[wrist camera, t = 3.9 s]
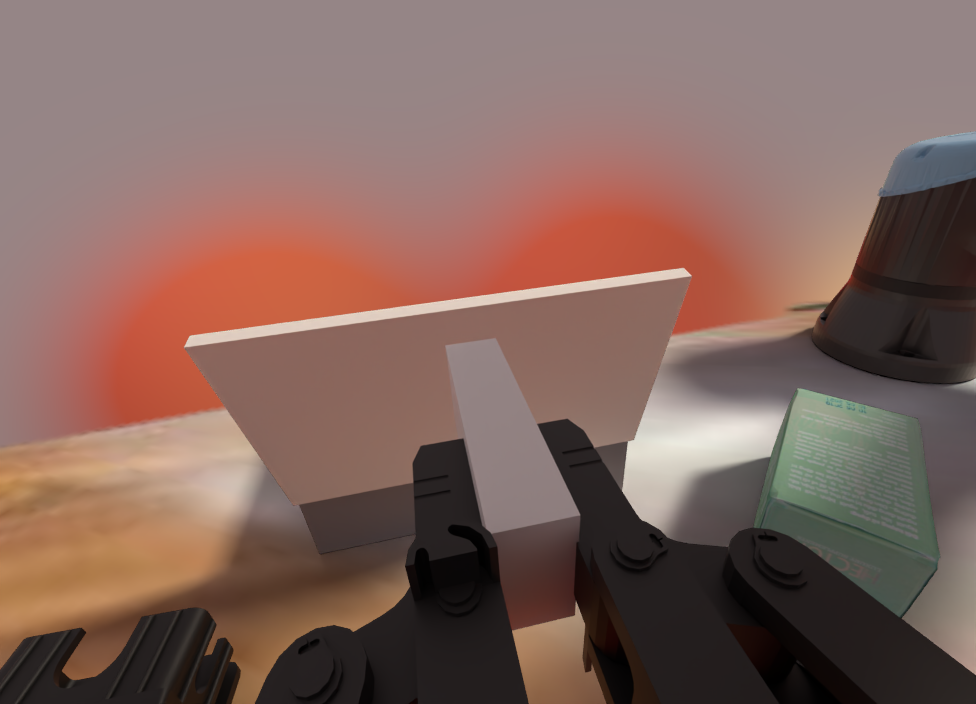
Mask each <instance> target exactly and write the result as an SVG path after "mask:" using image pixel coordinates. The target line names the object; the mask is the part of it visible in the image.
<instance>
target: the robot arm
mask: <svg viewBox="0 0 976 704" xmlns="http://www.w3.org/2000/svg"><path fill="white" fill-rule="evenodd" d="M878 196H880V199H879V201H878V204H877V207H876V209H875V212H874V215H873V217H872V220H871V223H870V225H869V228H868V231H867V233H866V236H865V239H864V241H863V244H862V247H861V249H860V252H859V255H858V257H857V260H856V263H855V266H854V269H853V272H852V274H851V277H850V279H849V280H848V282H847V283H846V284H845V285H844V287H843V288H842V289H841V290H840V292H839V293H838V294H837V295H836V296H835V297H834V299H833V300H832V301H831V302H830V304H829V305H828V306H827V307H826V309H825V310H824V311H823V312H822V313H821V315H820V316H819V317H818V319H817V321H816V324H815V327H814V330H813V333H812V339H813V341H814V343H815V344H816V345H817V346H818V347H819V348H820V349H821V350H822V351H824V352H825V353H827V354H828V355H830V356H832V357H834V358H835V359H837V360H839V361H842V362H844V363H846V364H849V365H851V366H854V367H857V368H860V369H863V370H866V371H869V372H872V373H876V374H880V375H884V376H888V377H893V378H898V379H904V380H910V381H918V382H928V383H955V382H963V381H968V380H971V379H974V378H976V131H975V132H969V133H962V134H955V135H949V136H943V137H938V138H933V139H929V140H924V141H920V142H917V143H915V144H912V145H911V146H909V147H907V148H905V149H904V150H903V151H901V152H900V153H899V154H898V155H897V157H896V158H895V160H894V161H893V164H892V166H891V168H890V171H889V173H888V176H887V178H886V180H885V183H884V185H883V187H882V188H881V189H880V190H879V192H878ZM445 347H446V355H447V363H448V371H449V379H450V386H451V394H452V402H453V410H454V418H455V424H456V429H457V434H458V439H456V440H451V441H445V442H439V443H434V444H428V445H422V446H420V448H419V450H418V452H417V455H416V457H415V459H414V461H413V463H412V465H413V483H414V485H413V488H414V510H415V533H416V539H415V540H414V542H413V543H412V545H411V547H410V548H409V550H408V555H407V560H406V565H405V567H406V571H407V575H408V579H409V583H410V588H409V589H408V591H407V593H406V594H405V596H404V597H403V598H402V599H401V600H400V601H399V602H398V603H397V604H396V605H395V607H393V608H392V609H390V610H389V611H388V612H386V613H385V614H383V615H382V616H380V617H379V618H377V619H375V620H373V621H372V622H370V623H368V624H366V625H365V626H363V627H361V628H360V629H358V630H356V631H354V632H352V631H351V630H350V629H348V628H343V627H339V626H335V625H332V626H327V627H321V628H316V629H314V630H312V631H310V632H309V633H307V634H305V635H303V636H301V637H300V638H298V639H296V640H295V641H294V642H293V643H292V644H291V645H290V646H289V647H288V648H287V649H286V650H285V651H284V652H283V653H282V654H281V655H280V656H279V658H278V659H277V661H276V663H275V664H274V666H273V668H272V669H271V671H270V673H269V674H268V676H267V678H266V680H265V682H264V684H263V687H262V689H261V691H260V693H259V696H258V698H257V700H256V702H255V704H529V703H528V698H527V694H526V690H525V685H524V681H523V677H522V673H521V668H520V664H519V660H518V655H517V651H516V647H515V642H514V638H513V634H512V630H516V629H520V628H524V627H529V626H533V625H537V624H541V623H545V622H549V621H553V620H557V619H561V618H566V617H570V616H574V615H575V603H576V601H577V604H578V607H579V609H580V612H581V614H582V617H583V620H584V622H585V636H584V648H583V662H584V668H585V673H586V672H589V671H591V666H592V665H593V667H594V670H595V673H596V676H597V678H598V681H599V684H600V687H601V689H602V692H603V695H604V698H605V700H606V703H607V704H976V675H975V674H973V673H972V672H971V671H969V670H968V669H967V668H965V667H964V666H963V665H962V664H960V663H959V662H958V661H956V660H955V659H954V658H952V657H951V656H950V655H948V654H947V653H946V652H944V651H943V650H942V649H941V648H939V647H938V646H937V645H935V644H934V643H933V642H931V641H930V640H929V639H927V638H926V637H925V636H923V635H922V634H921V633H920V632H918V631H917V630H916V629H914V628H913V627H912V626H910V625H909V624H908V623H906V622H905V621H904V620H902V619H901V618H900V617H899V616H897V615H896V614H895V613H893V612H892V611H891V610H889V609H888V608H887V607H885V606H884V605H883V604H881V603H880V602H879V601H877V600H876V599H875V598H874V597H872V596H871V595H870V594H868V593H867V592H866V591H864V590H863V589H862V588H860V587H859V586H858V585H856V584H855V583H854V582H853V581H851V580H850V579H849V578H847V577H846V576H845V575H843V574H842V573H841V572H839V571H838V570H837V569H835V568H834V567H833V566H832V565H830V564H829V563H828V562H826V561H825V560H824V559H822V558H821V557H820V556H818V555H817V554H816V553H814V552H813V551H812V550H811V549H809V548H808V547H807V546H805V545H803V544H802V543H800V542H798V541H797V540H795V539H793V538H792V537H790V536H788V535H785V534H783V533H780V532H777V531H774V530H771V529H763V528H749V529H746V530H742V531H739V532H738V533H737V534H736V535H735V536H734V537H733V538H732V539H731V541H730V544H729V547H720V546H709V545H698V544H688V543H683V542H678V541H674V540H672V539H669V538H667V537H666V536H665V535H664V534H663V533H662V532H661V530H659V529H657V528H656V527H654V526H652V525H650V524H649V523H647V522H645V521H642V520H641V519H640V518H639V517H638V515H637V514H636V513H635V511H634V510H633V508H632V506H631V505H630V503H629V502H628V500H627V499H626V497H625V495H624V494H623V492H622V491H621V489H620V487H619V486H618V484H617V483H616V481H615V479H614V478H613V476H612V475H611V473H610V471H609V470H608V468H607V467H606V465H605V463H603V462H602V459H601V457H600V455H599V454H598V452H597V451H596V449H594V446H593V444H592V443H591V441H590V439H589V438H588V436H587V435H586V433H585V432H584V430H583V429H581V428H580V427H578V426H577V425H576V424H574V423H573V422H571V421H570V420H569V419H562V420H557V421H551V422H545V423H539V424H537V423H536V421H535V419H534V417H533V415H532V413H531V411H530V409H529V407H528V404H527V402H526V400H525V398H524V396H523V394H522V392H521V390H520V388H519V386H518V384H517V382H516V379H515V377H514V375H513V373H512V371H511V369H510V367H509V365H508V363H507V361H506V359H505V356H504V354H503V352H502V350H501V348H500V346H499V344H498V342H497V340H496V338H493V339H486V340H479V341H472V342H465V343H459V344H452V345H445Z"/></svg>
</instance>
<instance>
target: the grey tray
mask: <svg viewBox="0 0 976 704" xmlns="http://www.w3.org/2000/svg"><path fill="white" fill-rule="evenodd" d="M627 443H628V441H626V442H621V443H616V444H611V445H605V446H600V447H595V448H594V449H596V451H597V452H598V454H599V455H600V457H601V459H602V462H603V463H605V465H606V467H607V468H608V470H609V471H610V473H611V475H612V476H613V478H614V479H615V481H616V483H617V484H618V486H619V487H620V489H621V491H622V487H623V478H624V469H625V461H626V452H627ZM413 485H414V483H409V484H404V485H398V486H393V487H388V488H383V489H378V490H372V491H367V492H362V493H357V494H352V495H347V496H341V497H336V498H331V499H326V500H321V501H316V502H310V503H305V504H300V508H301V510H302V512H303V515H304V517H305V520H306V522H307V525H308V527H309V529H310V532H311V534H312V537H313V539H314V542H315V544H316V546H317V549H318V551H319V554H322V553H327V552H332V551H336V550H341V549H346V548H351V547H355V546H360V545H365V544H370V543H374V542H379V541H384V540H389V539H394V538H398V537H403V536H408V535H413V534H416V533H415V510H414V488H413Z"/></svg>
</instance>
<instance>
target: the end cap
mask: <svg viewBox="0 0 976 704" xmlns="http://www.w3.org/2000/svg"><path fill="white" fill-rule="evenodd" d="M216 625H217V624H216V623H215V621H214V620H213V618H212V617H211V615H210V614H209V613H208V612H207V611H206V610H204V609H202V608H188V609H182V610H177V611H171V612H166V613H160V614H155V615H149V616H144V617H142V618H141V619H140V621H139V623H138V625H137V626H136V628H135V630H134V632H133V633H132V635H131V637H130V639H129V640H128V642H127V644H126V646H125V647H124V649H123V651H122V652H121V654H120V655H119V656H118V657H117V658H116V660H115V661H114V662H113V663H112V664H111V665H110V666H109V667H108V668H107V669H105V670H104V671H103V672H102V673H100V674H99V675H98V676H96V677H91V678H86V679H81V680H72V679H70V678H68V677H67V676H66V675H65V674H64V673H63V672H62V669H63V667H64V666H65V664H66V662H67V661H68V659H69V658H70V656H71V655H72V653H73V652H74V650H75V649H76V647H77V646H78V644H79V643H80V641H81V640H82V638H83V637H84V635H85V634H86V632H85V631H84V630H83V629H82V628H77V629H72V630H66V631H61V632H55V633H50V634H44V635H38V636H33V637H28V638H26V639H24V640H23V641H22V642H21V644H20V645H19V646H18V648H17V649H16V650H15V651H14V653H13V654H12V655H11V657H10V658H9V659H8V660H7V662H6V663H5V664H4V666H3V667H2V668H1V670H0V704H231V703H232V700H233V697H234V694H235V691H236V688H237V684H238V681H239V678H240V672H241V670H240V669H239V667H238V666H237V664H236V663H235V662H230V659H231V656H232V654H233V648H232V646H231V645H230V643H229V642H228V640H227V639H226V638H220V639H218V640H217V643H216V645H215V648H214V650H213V653H212V654H211V655H206V656H204V655H205V652H206V650H207V647H208V645H209V642H210V640H211V638H212V635H213V633H214V630H215V628H216Z"/></svg>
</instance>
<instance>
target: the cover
mask: <svg viewBox="0 0 976 704" xmlns="http://www.w3.org/2000/svg"><path fill="white" fill-rule="evenodd" d="M691 277H692V276H691V275H690V274H689V273H688V272H687V271H686V270H685V269H684V268H681V269H673V270H665V271H658V272H652V273H643V274H636V275H629V276H622V277H614V278H607V279H600V280H593V281H585V282H578V283H571V284H563V285H556V286H550V287H542V288H535V289H527V290H521V291H513V292H506V293H499V294H492V295H483V296H477V297H469V298H462V299H455V300H447V301H440V302H433V303H426V304H418V305H411V306H404V307H396V308H389V309H382V310H375V311H367V312H360V313H353V314H346V315H338V316H331V317H323V318H316V319H309V320H302V321H294V322H287V323H280V324H273V325H265V326H258V327H251V328H243V329H236V330H229V331H222V332H214V333H207V334H200V335H193V336H190V337H189V339H188V341H187V343H186V345H185V346H184V348H185V350H186V351H187V353H188V354H189V355H190V357H191V358H192V360H193V361H194V363H195V364H196V366H197V367H198V368H199V370H200V371H201V373H202V374H203V376H204V377H205V379H206V380H207V381H208V383H209V384H210V386H211V387H212V389H213V390H214V391H215V393H216V394H217V396H218V397H219V399H220V400H221V402H222V403H223V405H224V406H225V407H226V409H227V410H228V412H229V413H230V415H231V416H232V418H233V419H234V420H235V422H236V423H237V425H238V426H239V428H240V429H241V431H242V432H243V433H244V435H245V436H246V438H247V439H248V441H249V442H250V444H251V445H252V446H253V448H254V449H255V451H256V452H257V454H258V455H259V457H260V458H261V459H262V461H263V462H264V464H265V465H266V467H267V468H268V470H269V471H270V472H271V474H272V475H273V477H274V478H275V480H276V481H277V483H278V484H279V485H280V487H281V488H282V490H283V491H284V493H285V494H286V496H287V497H288V498H289V500H290V501H291V503H292V504H293V506H295V505H300V504H305V503H310V502H316V501H321V500H326V499H331V498H336V497H341V496H347V495H352V494H357V493H362V492H367V491H372V490H378V489H383V488H388V487H393V486H398V485H404V484H409V483H413V465H412V463H413V461H414V459H415V457H416V455H417V452H418V450H419V448H420V446H422V445H428V444H434V443H439V442H445V441H451V440H456V439H458V434H457V429H456V424H455V418H454V410H453V402H452V394H451V386H450V379H449V371H448V363H447V355H446V347H445V345H452V344H459V343H465V342H472V341H479V340H486V339H493V338H496V340H497V342H498V344H499V346H500V348H501V350H502V352H503V354H504V356H505V359H506V361H507V363H508V365H509V367H510V369H511V371H512V373H513V375H514V377H515V379H516V382H517V384H518V386H519V388H520V390H521V392H522V394H523V396H524V398H525V400H526V402H527V404H528V407H529V409H530V411H531V413H532V415H533V417H534V419H535V421H536V423H537V424H539V423H545V422H551V421H557V420H562V419H569V420H570V421H571V422H573V423H574V424H576V425H577V426H578V427H580V428H581V429H583V430H584V432H585V433H586V435H587V436H588V438H589V439H590V441H591V443H592V444H593V446H594V448H595V447H600V446H605V445H611V444H616V443H621V442H626V441H631V440H634V438H635V435H636V432H637V429H638V427H639V424H640V421H641V418H642V415H643V412H644V410H645V407H646V404H647V401H648V398H649V396H650V393H651V390H652V387H653V384H654V381H655V379H656V376H657V373H658V370H659V367H660V365H661V362H662V359H663V356H664V353H665V351H666V348H667V345H668V342H669V339H670V336H671V334H672V331H673V328H674V325H675V322H676V319H677V317H678V314H679V311H680V308H681V305H682V303H683V300H684V297H685V294H686V291H687V288H688V286H689V283H690V280H691Z"/></svg>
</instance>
